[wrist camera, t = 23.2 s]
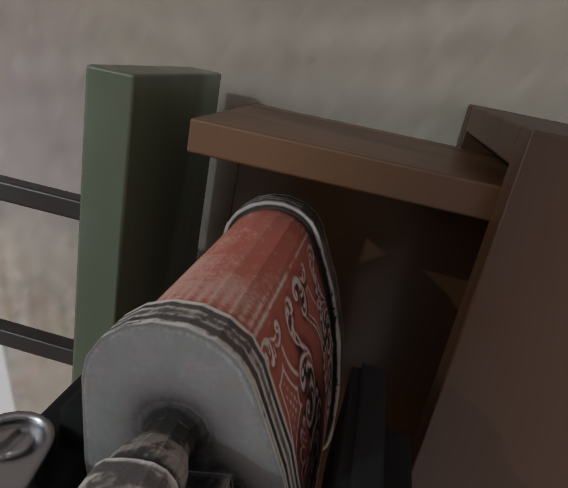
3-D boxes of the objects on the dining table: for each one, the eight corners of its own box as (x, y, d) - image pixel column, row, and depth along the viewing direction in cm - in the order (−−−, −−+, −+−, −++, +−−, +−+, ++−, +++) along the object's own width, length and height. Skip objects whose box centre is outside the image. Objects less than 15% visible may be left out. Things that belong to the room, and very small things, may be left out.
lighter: (214, 195, 14) (-130, 443, 5) (336, 191, 13) (208, 471, 4) (245, 436, 17) (58, 903, 7) (349, 444, 16) (289, 972, 7)
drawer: (32, 354, 23) (-93, 453, 17) (36, 34, 18) (-135, 16, 12) (492, 489, 20) (533, 660, 14) (635, 159, 16) (784, 212, 10)
